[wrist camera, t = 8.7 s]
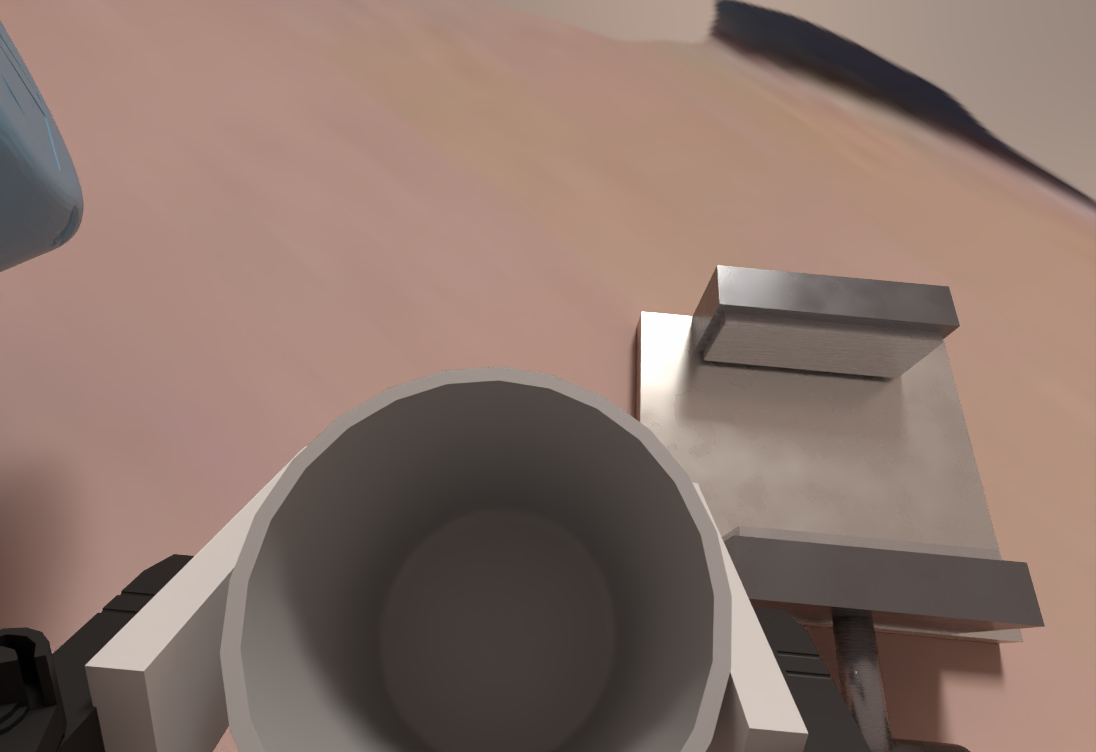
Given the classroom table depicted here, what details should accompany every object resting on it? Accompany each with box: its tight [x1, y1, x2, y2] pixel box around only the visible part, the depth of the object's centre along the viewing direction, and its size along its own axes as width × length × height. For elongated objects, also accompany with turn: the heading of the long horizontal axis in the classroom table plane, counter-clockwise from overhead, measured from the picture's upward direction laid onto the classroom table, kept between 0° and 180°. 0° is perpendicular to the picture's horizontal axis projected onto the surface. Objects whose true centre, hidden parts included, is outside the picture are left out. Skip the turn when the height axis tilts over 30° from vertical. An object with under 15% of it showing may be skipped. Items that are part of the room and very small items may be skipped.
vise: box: [636, 265, 1044, 752], centre depth 28 cm, size 18×22×6 cm
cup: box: [220, 367, 732, 752], centre depth 12 cm, size 7×10×9 cm
